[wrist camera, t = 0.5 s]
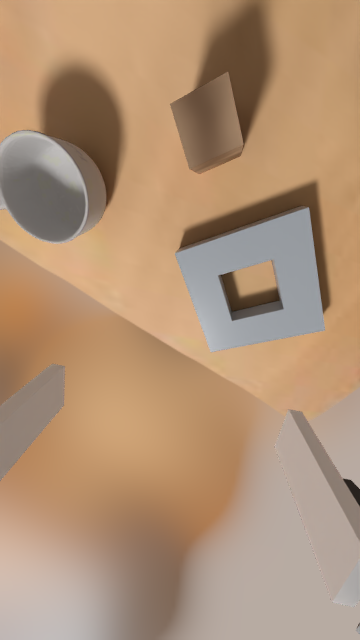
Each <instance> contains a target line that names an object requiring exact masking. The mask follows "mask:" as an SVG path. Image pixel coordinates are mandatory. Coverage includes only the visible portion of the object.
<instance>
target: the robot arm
mask: <svg viewBox="0 0 360 640" xmlns="http://www.w3.org/2000/svg"><path fill="white" fill-rule="evenodd" d="M64 378H65V366H61V365H56V364H51V365H50V366H49V367H47V368H46V369H45V370H44V371H42V372H41V373H40V374H39V375H38V376H36V377H35V378H34V379H32V380H31V381H30V382H29V383H28V384H26V385H25V386H24V387H23V388H22V389H20V390H19V391H18V392H17V393H15V394H14V395H13V396H11V397H10V398H9V399H8V400H7V401H5V402H4V403H3V404H2V405H0V481H1V479H2V478H3V477H4V476H5V475H6V473H7V472H8V471H9V470H10V469H11V467H12V466H13V465H14V464H15V463H16V461H17V460H18V459H19V458H20V457H21V455H22V454H23V453H24V452H25V451H26V450H27V448H28V447H29V446H30V445H31V444H32V442H33V441H34V440H35V439H36V438H37V437H38V435H39V434H40V433H41V432H42V431H43V429H44V428H45V427H46V426H47V424H48V423H49V422H50V421H51V420H52V419H53V418H54V416H55V415H56V414H57V413H58V412H59V410H60V409H61V408H62V407H63V406H64ZM275 449H276V452H277V455H278V457H279V460H280V463H281V465H282V468H283V471H284V474H285V476H286V479H287V482H288V484H289V487H290V490H291V493H292V495H293V498H294V501H295V503H296V506H297V509H298V511H299V514H300V517H301V520H302V522H303V525H304V528H305V530H306V533H307V536H308V538H309V541H310V544H311V547H312V549H313V552H314V555H315V558H316V560H317V563H318V566H319V568H320V571H321V574H322V576H323V579H324V582H325V585H326V587H327V590H328V593H329V595H330V598H331V601H332V602H333V603H338V604H342V605H347V606H352V607H355V605H356V604H357V603H358V601H359V600H360V489H359V488H358V487H357V486H356V485H355V484H354V483H353V482H352V481H351V480H348V479H342V477H341V475H340V474H339V472H338V470H337V469H336V467H335V465H334V464H333V462H332V461H331V459H330V457H329V456H328V454H327V453H326V451H325V449H324V447H323V446H322V444H321V442H320V441H319V439H318V438H317V436H316V434H315V433H314V431H313V429H312V428H311V426H310V425H309V423H308V421H307V419H306V418H305V416H304V415H303V413H302V412H300V411H295V410H290V409H288V412H287V415H286V417H285V420H284V423H283V425H282V428H281V431H280V433H279V436H278V439H277V441H276V445H275ZM356 631H357V632H358V633H359V634H360V623H359V625H358V627H357V629H356Z"/></svg>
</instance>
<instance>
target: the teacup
mask: <svg viewBox="0 0 360 640" xmlns="http://www.w3.org/2000/svg"><path fill="white" fill-rule="evenodd" d="M105 207H106V188H105V184H104V180H103V178H102V175H101V173H100V171H99V169H98V167H97V166H96V164H95V163H94V161H93V160H92V159H91V158H90V157H89V156H88V155H87V154H86V153H85V152H84V151H83V150H82V149H80V148H79V147H77V146H75V145H74V144H72V143H69V142H67V141H64V140H61V139H58V138H55V137H51V136H47V135H45V134H42V133H40V132H36V131H31V130H22V131H16V132H14V133H12V134H11V135H9V136H8V137H6V138H5V139H4V140H3V141H2V142H1V144H0V210H2V209H7V211H8V212H9V213H10V215H11V216H12V217H13V219H14V220H15V221H16V222H17V224H18V225H19V226H20V227H21V228H22V229H24V230H25V231H26V232H27V233H29V234H30V235H32V236H33V237H35V238H37V239H39V240H42V241H45V242H49V243H56V244H59V243H65V242H68V241H71V240H73V239H74V238H75V237H77V236H79V235H81V234H83V233H85V232H87V231H89V230H90V229H92V228H93V227H94V226H95V225H96V224H97V223H98V222H99V221H100V219H101V218H102V216H103V213H104V211H105Z"/></svg>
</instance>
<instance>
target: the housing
mask: <svg viewBox="0 0 360 640" xmlns="http://www.w3.org/2000/svg"><path fill="white" fill-rule="evenodd" d="M175 256H176V258H177V261H178V264H179V266H180V269H181V272H182V275H183V277H184V280H185V283H186V286H187V288H188V291H189V294H190V297H191V299H192V302H193V305H194V307H195V310H196V313H197V316H198V318H199V321H200V324H201V327H202V329H203V332H204V335H205V337H206V340H207V343H208V346H209V348H210V351H211V352H214V351H220V350H225V349H230V348H235V347H241V346H246V345H251V344H256V343H262V342H267V341H272V340H277V339H283V338H288V337H293V336H298V335H304V334H309V333H314V332H319V331H325V326H324V318H323V311H322V303H321V295H320V288H319V280H318V272H317V265H316V257H315V249H314V242H313V234H312V226H311V219H310V211H309V207H306V206H300V207H297V208H294V209H291V210H288V211H285V212H282V213H280V214H277V215H274V216H271V217H268V218H265V219H262V220H260V221H257V222H254V223H251V224H248V225H245V226H242V227H240V228H237V229H234V230H231V231H228V232H225V233H222V234H220V235H217V236H214V237H211V238H208V239H205V240H202V241H199V242H197V243H194V244H191V245H188V246H185V247H182V248H179V249H178V250H177V251H176V253H175ZM270 260H272V265H273V269H274V274H275V279H276V284H277V289H278V294H279V299H280V300H279V301H275V302H271V303H267V304H263V305H259V306H254V307H250V308H246V309H242V310H238V311H234V312H232V311H231V307H230V304H229V301H228V297H227V294H226V291H225V287H224V284H223V281H222V277H221V275H222V274H225V273H229V272H232V271H235V270H239V269H242V268H246V267H249V266H253V265H256V264H259V263H263V262H266V261H270Z"/></svg>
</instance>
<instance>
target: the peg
mask: <svg viewBox="0 0 360 640" xmlns="http://www.w3.org/2000/svg"><path fill="white" fill-rule="evenodd" d="M170 105H171V109H172V112H173V115H174V119H175V122H176V125H177V129H178V132H179V136H180V139H181V142H182V146H183V149H184V152H185V156H186V159H187V162H188V166H189V169H191V170H192V171H194V172H196V173H198V174H201V173H203V172H206V171H208V170H210V169H212V168H215V167H217V166H219V165H221V164H224V163H226V162H228V161H230V160H233V159H235V158H237V157H239V156H241V152H242V148H243V145H244V144H243V139H242V134H241V129H240V125H239V120H238V115H237V111H236V106H235V101H234V96H233V92H232V87H231V82H230V77H229V73H228V72H226V73H224V74H222V75H221V76H219V77H217V78H215V79H214V80H212V81H210V82H208V83H206V84H205V85H203V86H201V87H199V88H198V89H196V90H194V91H192V92H191V93H189V94H187V95H185V96H184V97H182V98H180V99H178V100H176V101H175V102H173V103H171V104H170Z"/></svg>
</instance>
